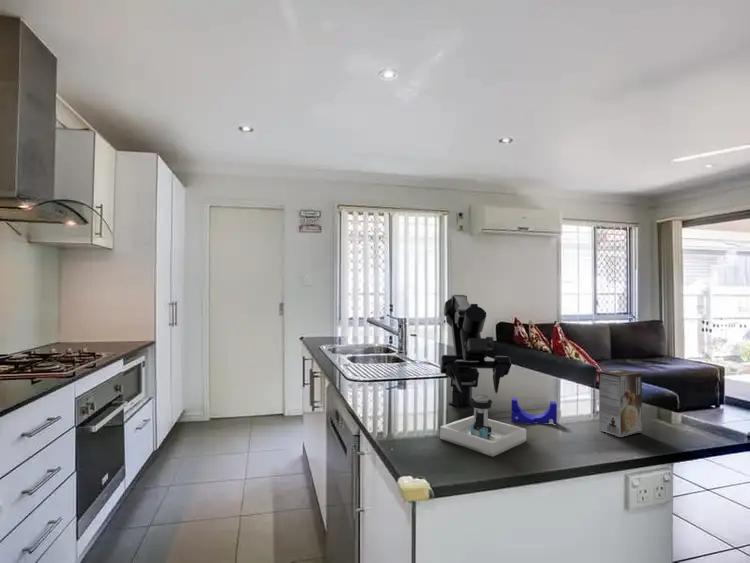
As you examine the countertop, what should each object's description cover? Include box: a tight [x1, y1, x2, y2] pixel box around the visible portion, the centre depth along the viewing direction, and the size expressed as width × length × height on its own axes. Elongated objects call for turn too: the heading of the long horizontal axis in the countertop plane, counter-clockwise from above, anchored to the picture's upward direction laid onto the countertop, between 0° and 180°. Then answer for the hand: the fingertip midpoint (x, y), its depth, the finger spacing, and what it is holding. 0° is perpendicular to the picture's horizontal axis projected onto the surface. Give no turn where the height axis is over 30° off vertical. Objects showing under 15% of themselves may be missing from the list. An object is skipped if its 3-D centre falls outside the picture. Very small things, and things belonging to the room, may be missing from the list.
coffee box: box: [598, 368, 643, 435], centre depth 114 cm, size 9×6×16 cm
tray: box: [439, 415, 527, 458], centre depth 106 cm, size 15×15×3 cm
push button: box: [470, 394, 495, 439], centre depth 107 cm, size 7×5×10 cm
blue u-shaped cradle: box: [510, 397, 558, 425], centre depth 122 cm, size 12×4×6 cm, turn 72°
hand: (478, 392), depth 112 cm, fingers open, 9 cm apart
